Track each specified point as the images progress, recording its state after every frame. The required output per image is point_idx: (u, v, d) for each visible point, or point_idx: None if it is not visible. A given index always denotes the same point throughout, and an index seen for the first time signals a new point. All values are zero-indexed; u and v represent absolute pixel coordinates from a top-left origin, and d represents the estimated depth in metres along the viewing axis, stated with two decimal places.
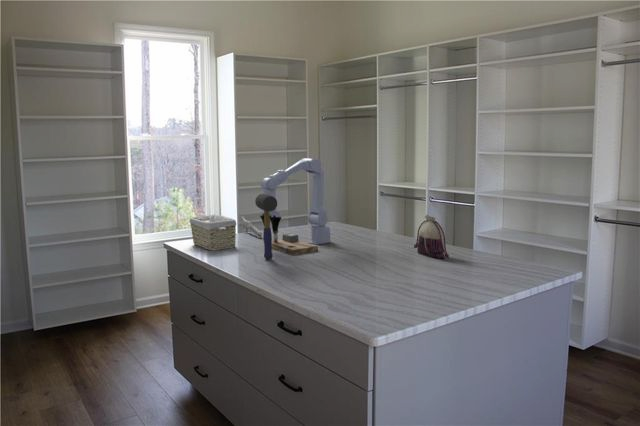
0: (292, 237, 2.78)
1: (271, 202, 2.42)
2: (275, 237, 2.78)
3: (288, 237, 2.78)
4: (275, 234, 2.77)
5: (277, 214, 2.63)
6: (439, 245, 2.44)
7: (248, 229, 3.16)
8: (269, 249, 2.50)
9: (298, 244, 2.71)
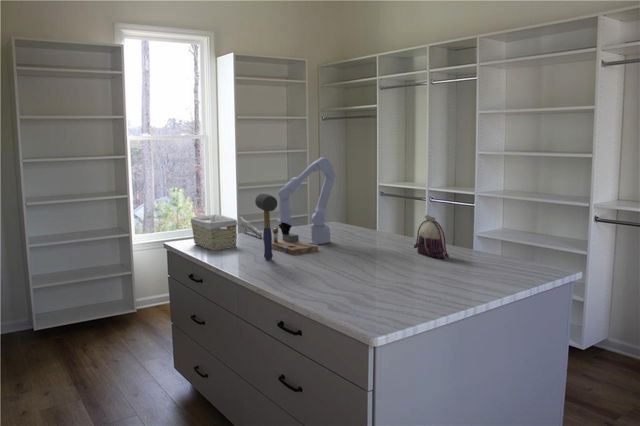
0: (292, 237, 2.78)
1: (271, 202, 2.42)
2: (275, 237, 2.78)
3: (288, 237, 2.78)
4: (275, 234, 2.77)
5: (292, 222, 2.78)
6: (439, 245, 2.44)
7: (247, 229, 3.16)
8: (269, 249, 2.50)
9: (298, 244, 2.71)
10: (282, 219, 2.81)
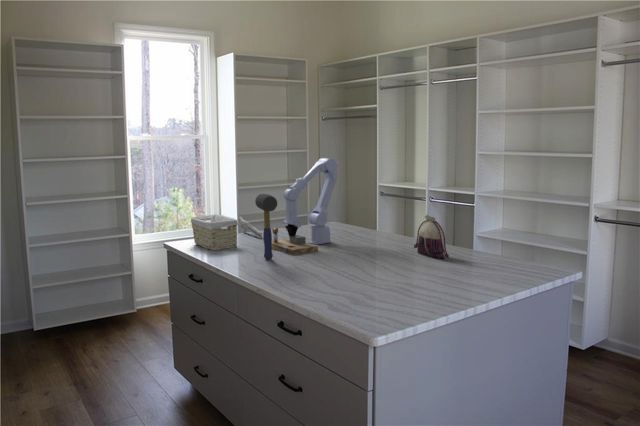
0: (299, 239, 2.73)
1: (271, 202, 2.42)
2: (275, 237, 2.78)
3: (295, 239, 2.73)
4: (275, 234, 2.77)
5: (298, 224, 2.73)
6: (439, 245, 2.44)
7: (247, 229, 3.16)
8: (269, 249, 2.50)
9: (298, 244, 2.71)
10: (289, 220, 2.76)
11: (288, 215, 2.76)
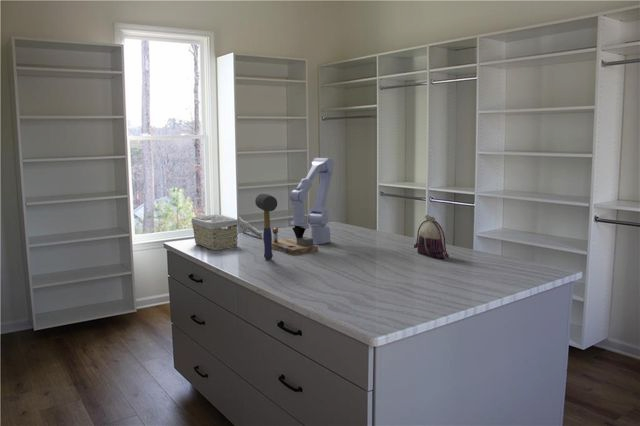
0: (307, 241, 2.67)
1: (271, 202, 2.42)
2: (275, 237, 2.78)
3: (303, 241, 2.67)
4: (275, 234, 2.77)
5: (306, 226, 2.67)
6: (439, 245, 2.44)
7: (246, 229, 3.15)
8: (269, 249, 2.50)
9: None
10: (296, 222, 2.71)
11: (295, 216, 2.70)
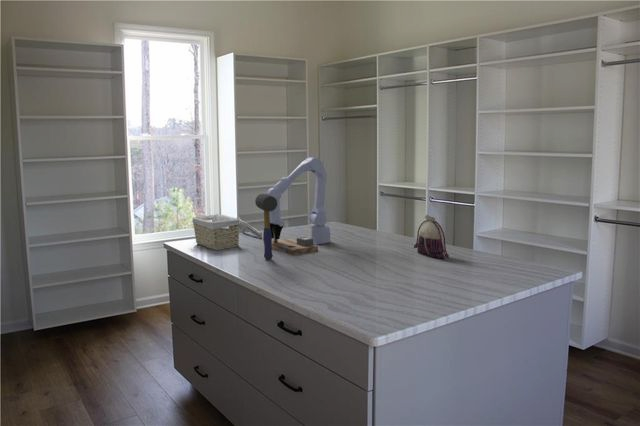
0: (307, 241, 2.67)
1: (271, 202, 2.42)
2: None
3: (303, 241, 2.67)
4: None
5: (281, 223, 2.71)
6: (439, 245, 2.44)
7: (246, 229, 3.15)
8: (269, 249, 2.50)
9: None
10: (272, 220, 2.75)
11: (271, 214, 2.74)
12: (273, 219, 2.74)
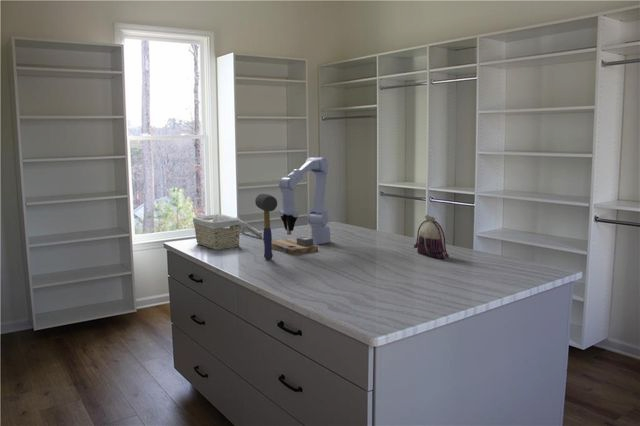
0: (307, 241, 2.67)
1: (271, 202, 2.42)
2: None
3: (303, 241, 2.67)
4: None
5: (296, 214, 2.60)
6: (439, 245, 2.44)
7: (245, 230, 3.15)
8: (269, 249, 2.50)
9: None
10: (285, 210, 2.63)
11: (285, 205, 2.63)
12: (287, 210, 2.63)
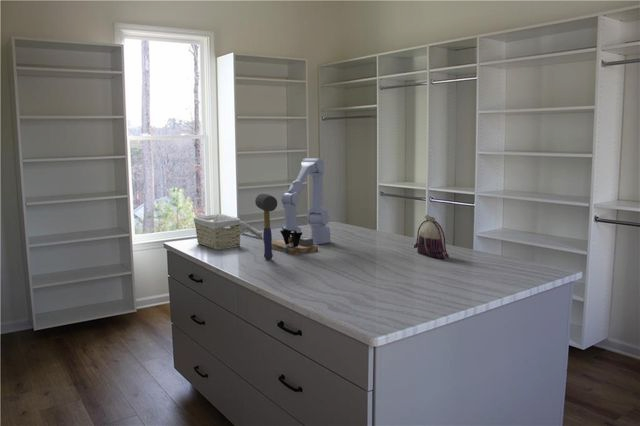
0: (307, 241, 2.67)
1: (271, 202, 2.42)
2: (291, 246, 2.66)
3: (303, 241, 2.67)
4: (291, 243, 2.66)
5: (298, 230, 2.59)
6: (439, 245, 2.44)
7: (244, 230, 3.14)
8: (269, 249, 2.50)
9: None
10: (288, 226, 2.63)
11: (287, 220, 2.62)
12: (289, 225, 2.62)
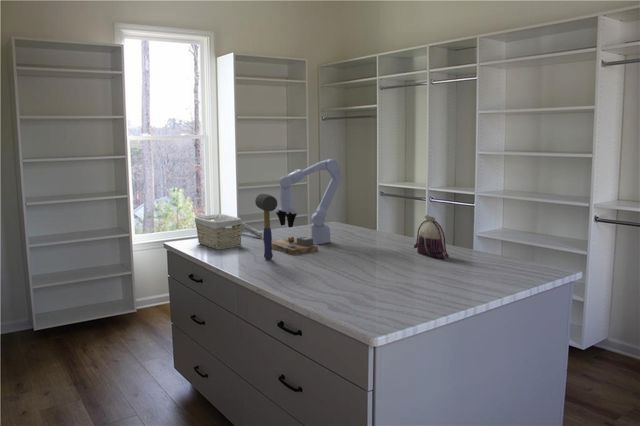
0: (307, 241, 2.67)
1: (271, 202, 2.42)
2: (291, 247, 2.66)
3: (303, 241, 2.67)
4: (291, 243, 2.66)
5: (293, 211, 2.77)
6: (439, 245, 2.44)
7: (243, 230, 3.14)
8: (269, 249, 2.50)
9: None
10: (283, 207, 2.80)
11: (282, 202, 2.80)
12: (284, 207, 2.80)
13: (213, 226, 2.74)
